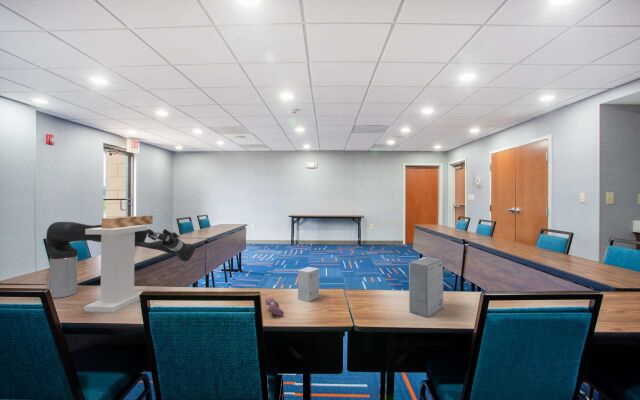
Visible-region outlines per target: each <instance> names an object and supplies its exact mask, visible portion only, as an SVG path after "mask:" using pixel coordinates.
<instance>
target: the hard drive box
mask: <svg viewBox="0 0 640 400" xmlns="http://www.w3.org/2000/svg"><path fill="white" fill-rule="evenodd" d="M443 265H444V264H443V259H442V258H437V257H431V256H424V257H423V256H422V257H421V258H418V259H415V260H413V261H410V262H408V290H409V291H408V298H409V299H408V301H409V302H408V303H409V305H408V309H409V310H408V311H409V313H410V314H413V315H417V316H420V317H423V318H429V317H430V316H432V315H433V314H436V312H438V311H439V310H441V309H442V308H444V270H443V269H444V268H443V267H444V266H443Z"/></svg>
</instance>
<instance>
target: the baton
mask: <svg viewBox="0 0 640 400" xmlns="http://www.w3.org/2000/svg"><path fill="white" fill-rule="evenodd" d="M153 218H154V217H153V215H134V216H133V215H132V216H119V217H118V216H117V217H105V218H104V217H103V218H101V225H102V229H113V228H121V227H130V226H138V225H153Z"/></svg>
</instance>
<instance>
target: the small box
mask: <svg viewBox="0 0 640 400" xmlns="http://www.w3.org/2000/svg"><path fill="white" fill-rule="evenodd" d="M318 298H320V268H318V267H314V266H313V267H311V266H307V267H304V268H300V269H298V270H297V300H299V301H302V302H303V301H304V302H305V303H310V302H312V301H314V300H316V299H318Z"/></svg>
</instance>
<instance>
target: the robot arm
mask: <svg viewBox="0 0 640 400" xmlns="http://www.w3.org/2000/svg"><path fill="white" fill-rule="evenodd" d="M101 227H102V224H97V225H96V224H95V225H92V224H85V223H80V222H74V221H57V222H53V223H51V224H50V225H48V228H47V230H46V250H47V253H48V254H49V274H48V275H47V276H46V290H47V289H50V290H51V294H52V296H53V298H52V299H59V298H66V297H70V296H73V295H76V294H77V293H78V255H79V254H78V253H79V252H78V250H77V249H76V248H74V247H73V246H72V245H71V244H70V243H74V242H84V241H91V242H96V243H101V235H97V234H85V229H91V228H101ZM147 237H148V238H150V239H151V240H153V242H146V238H147ZM136 246H137V247H139V248H141V247H142V248H146V249H152V250H156V251H161V252H164V253H167V254H170V255H176V256H177V258H178V259H179V260H180V261H183V262H188V261H190V260H191V258H192V256H193V254H194V252H195V251H196V246H195V245H193V244H191V243H185V242H184V241H183V240H182V239H181V238H180V235H179V234H177V233H176V232H175V231H173V232H172V231H169V230H167V229H165V228H164V229H163V231H162V232H158V231H157V232H155V231H154V230H152V229H150V228H147V230H143V231H137V232H135V247H136Z"/></svg>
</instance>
